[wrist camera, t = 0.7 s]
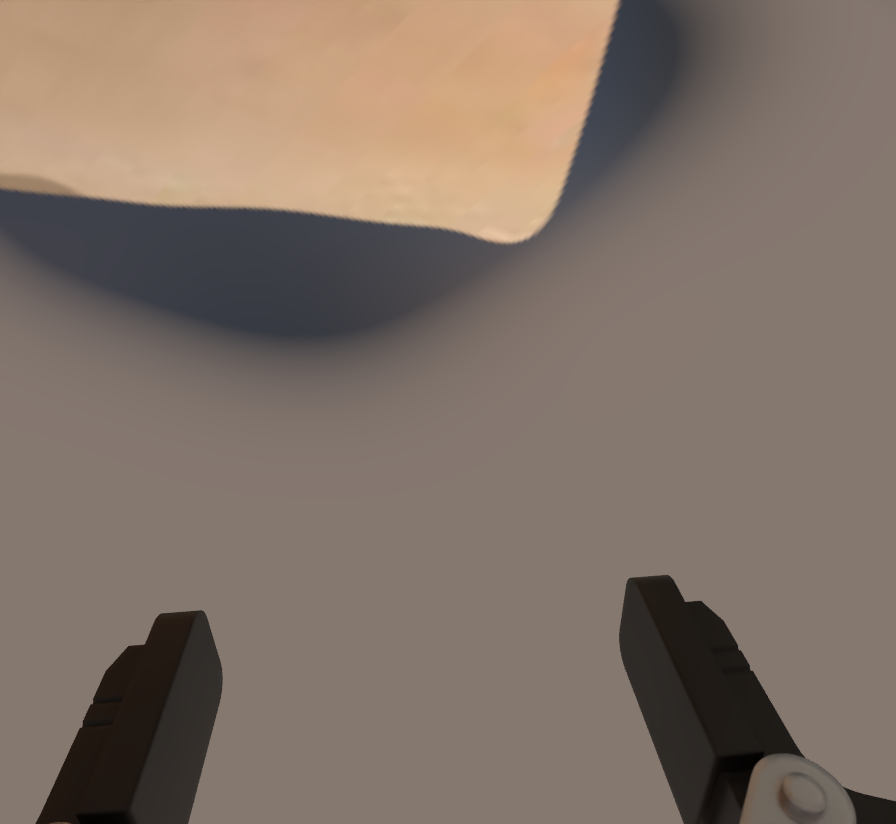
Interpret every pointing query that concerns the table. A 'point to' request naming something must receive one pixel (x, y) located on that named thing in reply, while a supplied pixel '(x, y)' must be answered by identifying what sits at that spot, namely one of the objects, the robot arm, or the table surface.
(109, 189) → the table surface
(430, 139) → the table surface
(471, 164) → the table surface
